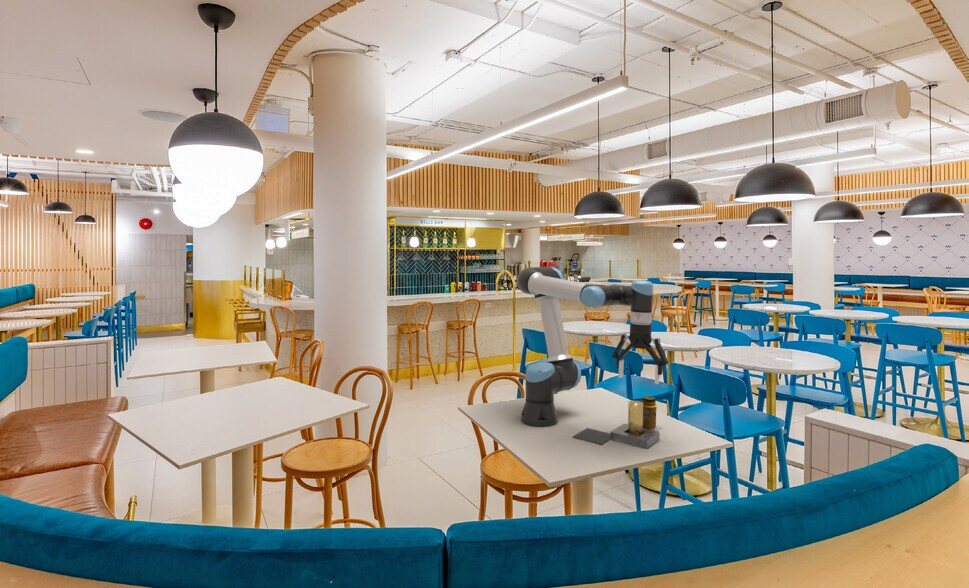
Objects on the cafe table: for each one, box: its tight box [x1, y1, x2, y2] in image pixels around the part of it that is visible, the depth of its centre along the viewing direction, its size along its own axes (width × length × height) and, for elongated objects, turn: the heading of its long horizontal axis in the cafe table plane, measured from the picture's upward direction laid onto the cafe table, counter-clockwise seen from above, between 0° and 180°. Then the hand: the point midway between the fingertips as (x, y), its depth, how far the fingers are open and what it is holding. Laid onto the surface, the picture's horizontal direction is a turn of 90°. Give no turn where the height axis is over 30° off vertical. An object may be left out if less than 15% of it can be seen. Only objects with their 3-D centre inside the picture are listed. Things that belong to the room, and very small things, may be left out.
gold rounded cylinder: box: [627, 400, 643, 436], centre depth 184 cm, size 5×5×14 cm
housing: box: [609, 423, 661, 450], centre depth 185 cm, size 14×12×3 cm
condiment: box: [641, 395, 661, 431], centre depth 198 cm, size 7×8×12 cm
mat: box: [571, 427, 611, 446], centre depth 188 cm, size 12×12×1 cm
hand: (638, 380), depth 183 cm, fingers open, 13 cm apart
